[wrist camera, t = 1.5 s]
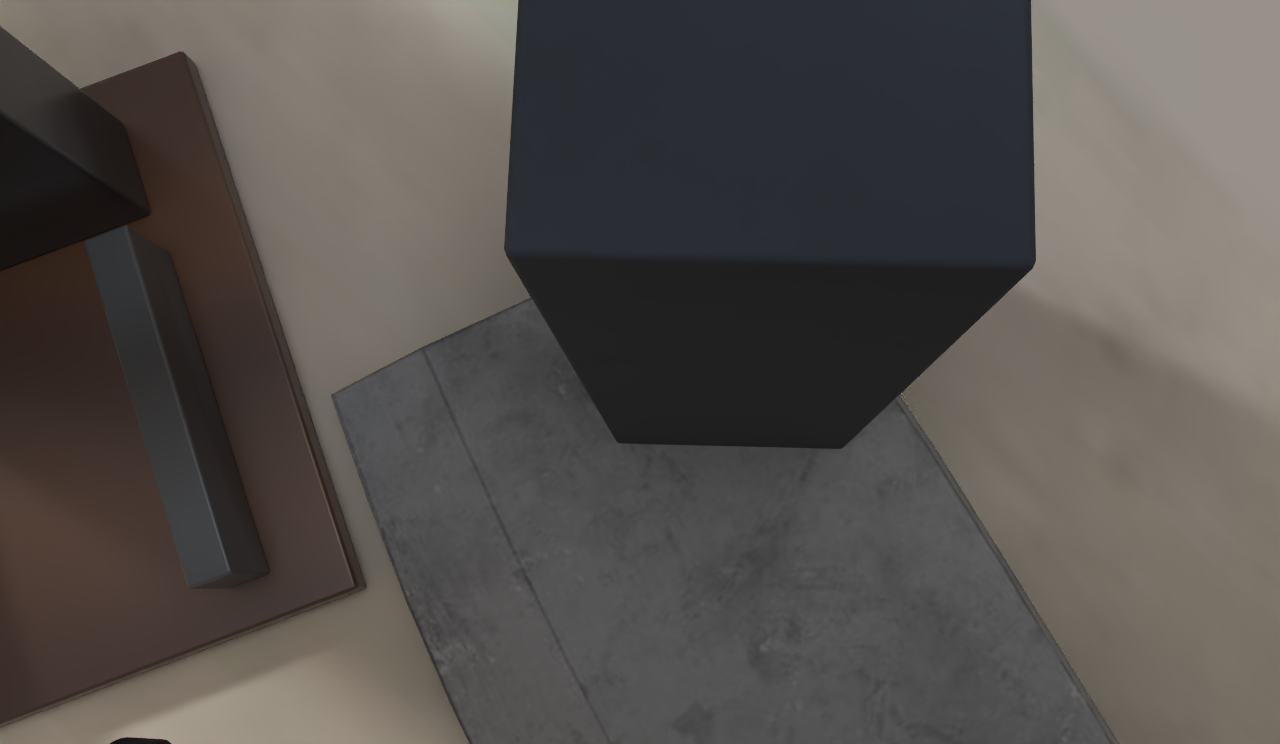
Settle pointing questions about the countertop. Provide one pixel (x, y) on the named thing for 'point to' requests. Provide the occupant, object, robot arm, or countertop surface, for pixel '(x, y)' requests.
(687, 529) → the cleaver
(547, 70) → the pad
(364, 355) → the countertop surface
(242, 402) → the pad mount
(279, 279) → the countertop surface
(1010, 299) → the countertop surface
